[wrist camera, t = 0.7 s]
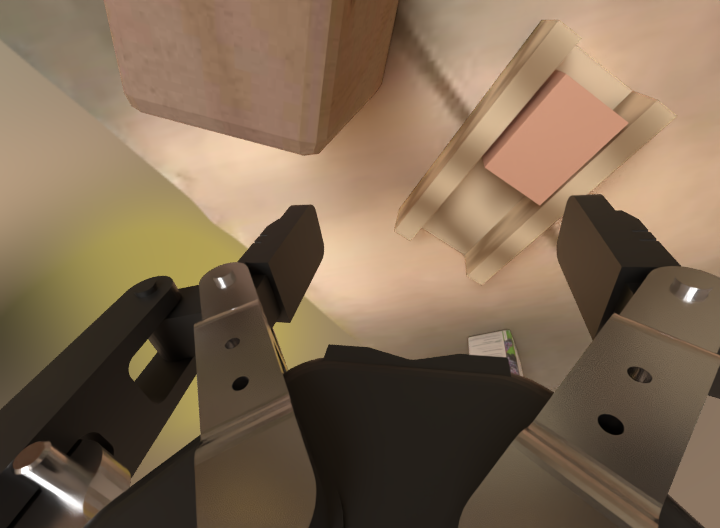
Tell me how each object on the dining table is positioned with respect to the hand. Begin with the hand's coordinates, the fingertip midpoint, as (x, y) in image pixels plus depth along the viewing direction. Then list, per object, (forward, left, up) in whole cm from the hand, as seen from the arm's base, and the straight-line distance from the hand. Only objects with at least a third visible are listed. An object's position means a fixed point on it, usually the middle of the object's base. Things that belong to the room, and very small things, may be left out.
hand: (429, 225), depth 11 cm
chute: (+2, +9, -25) cm, 26 cm away
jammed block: (-2, +9, -23) cm, 25 cm away
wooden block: (0, -11, -25) cm, 27 cm away
